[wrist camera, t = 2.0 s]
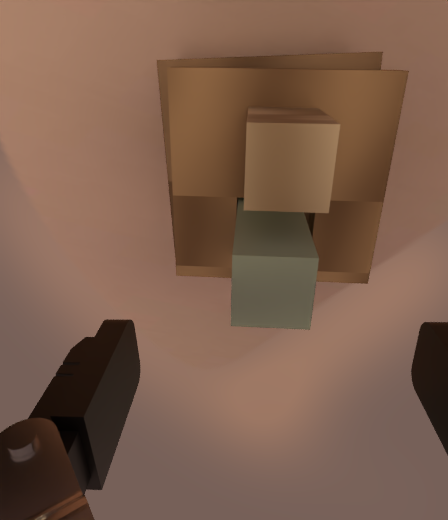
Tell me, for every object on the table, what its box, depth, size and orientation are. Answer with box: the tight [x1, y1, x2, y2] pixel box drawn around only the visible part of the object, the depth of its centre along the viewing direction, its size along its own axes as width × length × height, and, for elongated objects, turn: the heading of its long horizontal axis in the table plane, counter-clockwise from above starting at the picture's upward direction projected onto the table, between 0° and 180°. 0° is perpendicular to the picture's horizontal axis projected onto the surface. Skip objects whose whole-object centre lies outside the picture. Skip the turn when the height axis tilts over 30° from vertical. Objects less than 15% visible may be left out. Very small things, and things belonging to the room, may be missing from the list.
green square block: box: [231, 198, 319, 330], centre depth 19 cm, size 3×3×10 cm
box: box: [157, 52, 383, 257], centre depth 23 cm, size 10×10×6 cm
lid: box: [167, 67, 409, 284], centre depth 18 cm, size 10×10×6 cm
